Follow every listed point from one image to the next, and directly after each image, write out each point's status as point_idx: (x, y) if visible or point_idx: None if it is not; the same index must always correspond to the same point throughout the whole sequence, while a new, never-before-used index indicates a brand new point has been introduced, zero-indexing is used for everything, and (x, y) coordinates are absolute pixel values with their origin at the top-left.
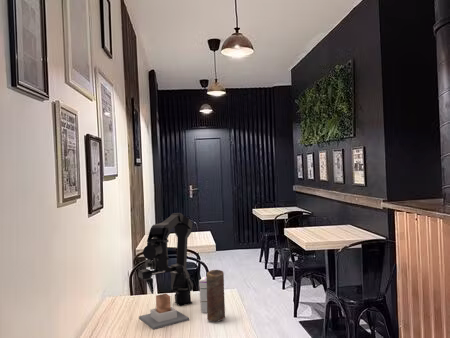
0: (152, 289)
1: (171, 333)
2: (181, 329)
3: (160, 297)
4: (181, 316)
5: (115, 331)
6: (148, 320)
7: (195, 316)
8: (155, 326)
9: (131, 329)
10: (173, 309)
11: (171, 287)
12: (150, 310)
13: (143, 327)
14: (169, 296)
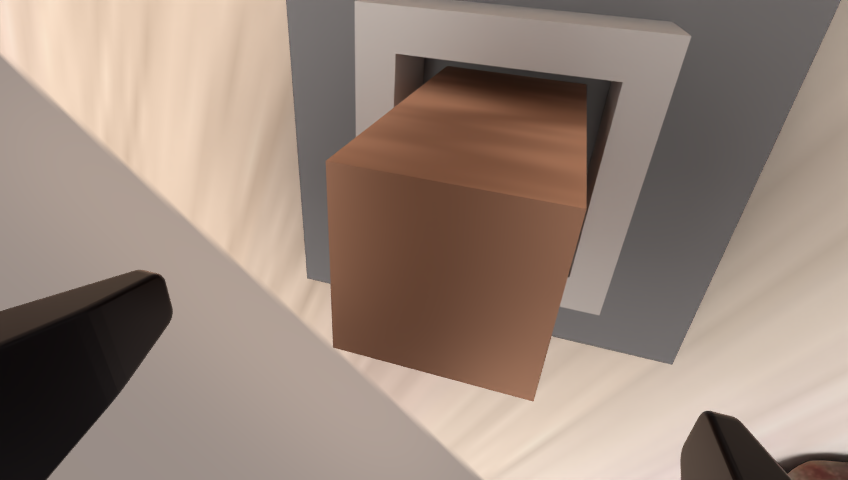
0: (68, 426)
1: (394, 401)
2: (483, 410)
3: (350, 333)
4: (654, 278)
5: (52, 60)
6: (325, 103)
7: (812, 322)
8: (327, 281)
9: (172, 124)
10: (594, 261)
11: (716, 457)
12: (359, 3)
13: (266, 163)
14: (522, 391)
